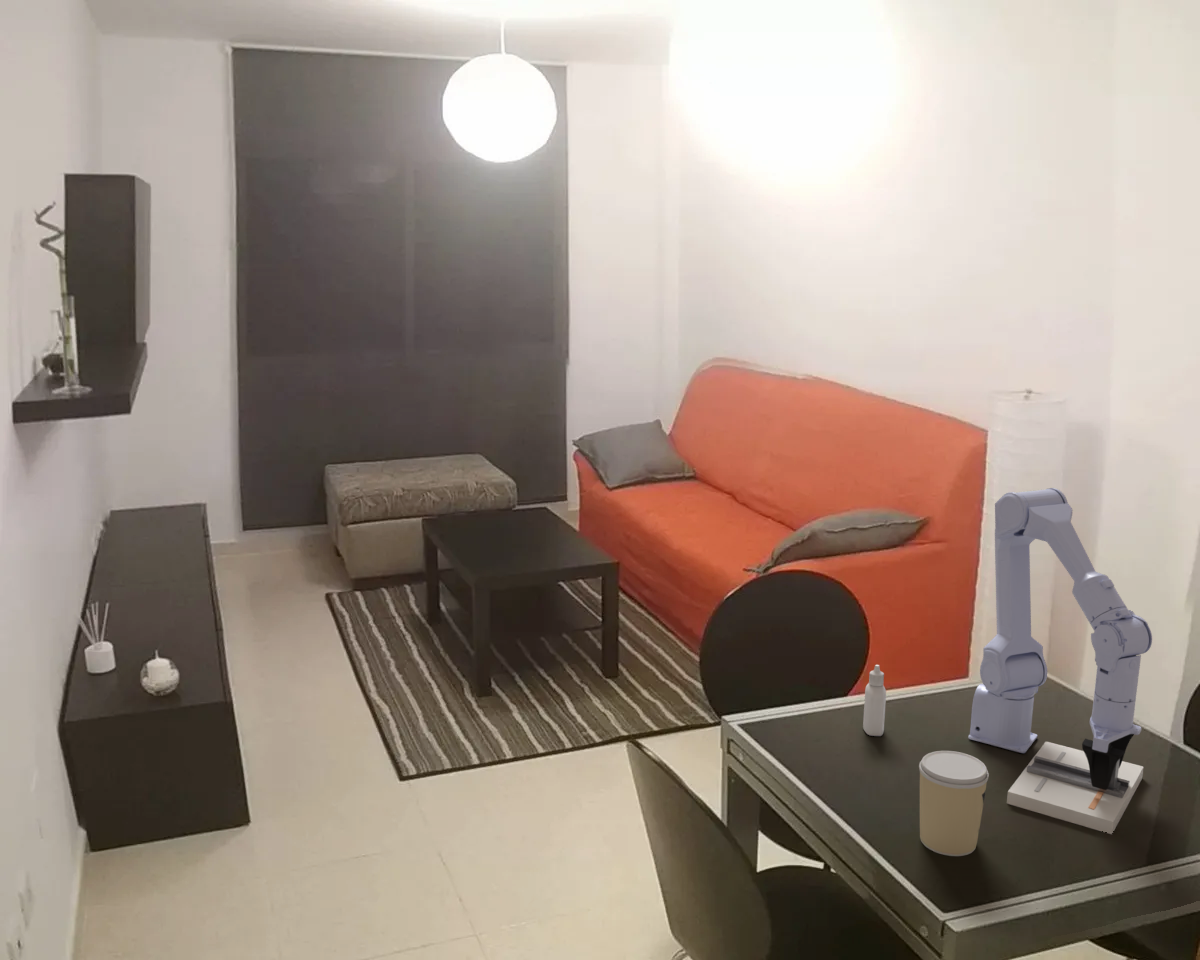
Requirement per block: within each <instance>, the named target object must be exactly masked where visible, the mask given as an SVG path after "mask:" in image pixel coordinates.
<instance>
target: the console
mask: <svg viewBox="0 0 1200 960" xmlns="http://www.w3.org/2000/svg"><path fill="white" fill-rule="evenodd" d="M1143 775H1144V766H1142V765H1139V764H1135V763H1131V762H1127V761H1125V760H1124V761H1123V760H1122V763H1121V766H1120V768H1119V771H1118V779H1117V782H1120V783H1121V784H1120V788H1119V789H1118V790H1117V789H1114V788H1110V787H1108V788H1107V790H1103V789H1100V788H1096V787H1093V786H1092V783H1091V782H1089V781H1090V779H1091V777H1090V769H1089V764H1088V760H1087V757H1086V755H1085V753H1084V751H1083V750H1081V749H1078V748H1074V747H1068V746H1065V745H1062V744H1057V743H1053V742H1050V741H1044V743H1043V744H1042V746H1041V747H1040V749H1039V750H1038V751H1037V753H1036V754H1035V755H1034V756H1033V757H1032V759H1031V760H1030V762H1029V763H1028V765H1026V767H1025V768H1024V769H1023V771H1022V772H1021V774H1020V775H1019V776H1018V777H1017V779H1016V780H1015V781H1014V783H1013V784H1012V785H1011V786H1010V788H1009V789H1008V791H1007V797H1006V804H1008V805H1011V806H1014V807H1017V808H1021V809H1023V810H1024V809H1025V810H1027V811H1032V812H1035V813H1039V814H1041V815H1045V816H1048V817H1051V818H1055V819H1057V820H1062V821H1065V822H1069V823H1072V824H1074V825H1075V824H1076V825H1078V826H1083V827H1086V828H1088V829H1092V830H1095V831H1099V832H1102V831H1103V832H1102V833H1105V832H1107V833H1106V834H1109V835H1113V834H1112V833H1114V832H1113V831H1115V829H1116V827H1117V826H1118V825H1119V822H1120V821H1121V818H1122V817H1123V815H1124V812H1125V811H1126V809H1127V808H1128V806H1129V804H1130V802H1131V800H1132V798H1133V796H1134V794H1135V792H1136V791H1137V788H1139V785H1140V784H1141V781H1142V779H1143Z"/></svg>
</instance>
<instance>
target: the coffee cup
mask: <svg viewBox="0 0 1200 960" xmlns="http://www.w3.org/2000/svg"><path fill="white" fill-rule="evenodd" d="M918 768H919V769H918V770H919V839H920V841H921V843H922V844H923V846H924V847H926V848H927V849H928V850H930V851H933V852H934V853H936V854H939V855H944V856H949V857H963V856H967V855H970V854H972V853H973V852H974V851H975V850H976V847H977V843H978V840H979V839H978V838H979V833H980V826H981V822H982V815H983V809H984V803H985V798H986V796H985V795H986V789H987V783H988V781H989V777H990V776H989V775H990V773H989V771H988V769H987V766H986V765H985V763H984V762H983V761H981V760H980V759H979V758H977V757H975V756H973V755H970V754H967V753H965V752H961V751H960V752H959V751H953V750H937V751H935V750H934V751H932V752H929V753H926V754H925V755H924V756H923V757H922V759H921V761H919V764H918Z"/></svg>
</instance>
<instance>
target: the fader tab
mask: <svg viewBox="0 0 1200 960" xmlns="http://www.w3.org/2000/svg"><path fill="white" fill-rule="evenodd" d="M1119 762H1120V759H1119V760H1118V761H1117V763H1116V765H1115V768H1114V771H1113V774H1112V778H1111V781H1110V784H1109V786H1108V787H1110V788H1114V789H1117V790H1118V789H1119V788H1120V784H1121V783H1120V782H1117V779H1118V771H1119ZM1089 782H1091V779H1090V781H1089Z"/></svg>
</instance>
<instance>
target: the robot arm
mask: <svg viewBox="0 0 1200 960" xmlns="http://www.w3.org/2000/svg"><path fill="white" fill-rule="evenodd" d="M1073 511H1074V510H1073V508H1072V507H1071V505H1070V504H1069V502H1068V500H1067V497H1066V495H1065V493H1064V492H1062V490H1060V489H1058V488H1055V487H1050V488H1046V489H1037V490H1029V491H1028V490H1027V491H1019V492H1015V491H1009V492H1006V493H1005V494H1003V495H1002V496H1001V497H1000V498H999V499H998V500H997V501H995V503H994V520H995V521H994V523H995V524H994V525H995V528H994V560H995V561H994V564H995V604H996V605H995V607H996V608H995V609H996V610H995V611H996V635H995V636H994V637H993V638H992V639H991V640H990V641H989V642H988V643H987V644H985V646H984V647H983V650H982V651H983V652H982V653H983V654H982V655H983V656H982V661H981V664H980V668H979V675H980V679H981V682H982V683H979V685H977V687H976V689H975V691H974V695H973V698H972V706H971V715H970V729H969V734H968V737H967V738H968V739H969V740H972V741H976V742H980V743H983V744H988V745H991V746H993V747H998V748H1002V749H1005V750H1009V751H1012V752H1016V753H1020V754H1026V753H1027V751H1028V750H1029V748H1031V746H1032V744H1033V743H1034V742H1035V741H1036V740H1037V739H1038V734H1037V733H1033V732H1032V724H1033V712H1034V702H1035V694H1038V693H1039V687H1041V686H1043V685H1044V684H1045V683H1046V682H1047V681H1046V680H1047V679H1048V666H1047V663H1046V660H1045V656H1044V648H1043V647H1044V646H1043V645H1042V644H1041V643H1040V642H1039V641H1037V640H1036V639H1035V638H1033V636H1032V625H1031V624H1032V619H1031V617H1032V612H1031V611H1032V609H1031V607H1032V606H1031V605H1032V603H1031V570H1030V569H1031V565H1030V564H1031V562H1030V561H1031V559H1030V558H1031V557H1030V556H1031V554H1030V546H1031V545H1030V544H1031V543H1033V542H1034V541H1035V540H1038V541H1043V542H1046V543H1047V544H1048V546H1049V547H1050V548H1051V551H1053V553H1054V554H1055V555H1056V557H1057V558H1058V559H1059V561H1060V562H1061V564H1062V566H1063V567H1064V568H1065V570H1066V572H1067V573H1068V575H1069V576H1070V578H1071V579H1072V580H1073V586H1072V590H1071V592H1072V595H1073V597H1074V599H1075V600H1076V602H1077V604H1078V606H1079V607H1080V610H1081V611H1082V612H1083V614H1084V616H1085V618H1086V619H1087V621H1088V622H1089V624H1090V626H1091V627H1092V629H1093V632H1092V633H1091V634H1090V641H1091V645H1092V647H1093V649H1094V654H1095V656H1094V662H1095V665H1096V677H1095V683H1094V693H1093V702H1092V711H1091V716H1090V717H1089V725H1090V726H1089V727H1090V729H1091V732H1092V736H1093V738H1092V740H1091V739H1088V738H1084V740H1083V741H1082V743H1081V749H1082V751H1084V753H1085V755H1086V757H1087V760H1088V764H1089V769H1090V777H1091V783H1092V786H1093V787H1096V788H1100V789H1103V790H1107V788H1108V786H1109V784H1110V781H1111V778H1112V774H1113V771H1114V768H1115V765H1116V763H1117V761H1118V760H1119V759H1120V762H1119V768H1120V766H1121V763H1122V761H1123V760H1124V756H1125V754H1126V751H1127V748H1128V746H1129V743H1130V742H1131V739H1132V738H1133V737H1134V735H1136V736H1139V735H1140V733H1141V732H1142V727H1141V726H1140V725H1137V724H1134V716H1135V711H1136V709H1135V707H1136V699H1137V693H1138V685H1139V675H1140V668H1141V659H1142V658H1141V657H1142V655H1144V654H1145V653H1147V652H1148V651H1150V648H1152V643H1153V635H1152V631H1151V628H1150V626H1149V625H1148V624H1149V623H1148V622H1147V621H1146V619H1144V618H1143V617H1141V616H1140V615H1136V614H1135V612H1134V611H1133V610H1131V609H1129V608H1128V607H1127V606H1126V603H1125V602H1124V600H1123V599H1122V597H1121V596H1120V594H1119V593H1118V591H1117V589H1116V588H1115V584H1114V583H1113V581H1112V580H1111V579H1110V577H1109V576H1108V575H1106V574H1103V573H1100V572H1098V571H1096V569H1095V567H1094V565H1093V564H1092V561H1091V560H1090V557H1089V556H1088V553H1087V552H1086V550H1085V547H1084V545H1083V543H1082V540H1081V539H1080V537H1079V535H1078V533H1077V532H1076V529H1075V528H1074V527H1075V526H1074V525H1073V523H1072V519H1073Z"/></svg>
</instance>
